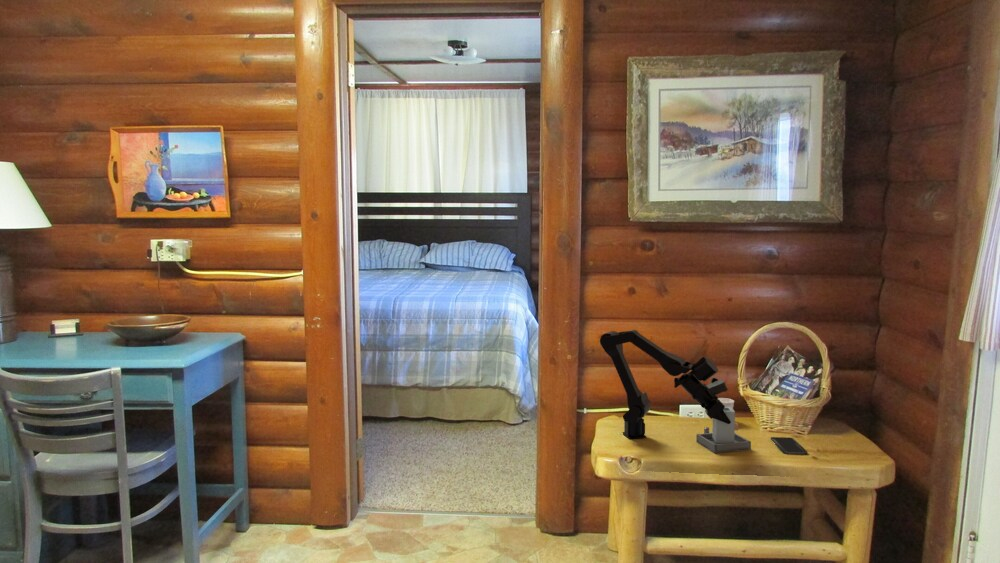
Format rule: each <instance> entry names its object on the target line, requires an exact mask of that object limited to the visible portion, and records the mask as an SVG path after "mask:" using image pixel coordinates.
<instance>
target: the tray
mask: <svg viewBox="0 0 1000 563" xmlns="http://www.w3.org/2000/svg"><path fill="white" fill-rule="evenodd" d="M695 441H696V443H697V444H699V445H700V446H702V447H704V448H705V449H707V450H709V451H710V452H712V453H713V454H722V453H732V452H743V451H750V450H752V448H751V447H752V441H750V440H749V439H747V438H745V437H743V436H741V435H739V434H737V433H735V434H734V442H733V443H716V442H715V441H714V439H713V437H712V432H709V433H705V434H704V433H696V440H695Z"/></svg>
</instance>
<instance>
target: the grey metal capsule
mask: <svg viewBox="0 0 1000 563" xmlns="http://www.w3.org/2000/svg"><path fill="white" fill-rule="evenodd" d="M705 433H710V427H708V426H705V427H703V434H705Z"/></svg>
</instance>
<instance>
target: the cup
mask: <svg viewBox="0 0 1000 563" xmlns="http://www.w3.org/2000/svg"><path fill="white" fill-rule="evenodd" d="M718 400H720V401H721V402H722V403H723V404H724V406H725V407H731V408H732V409H733V410H734V406H735V400H733V399H731V398H726V397H718Z"/></svg>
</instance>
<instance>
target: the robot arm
mask: <svg viewBox="0 0 1000 563" xmlns="http://www.w3.org/2000/svg"><path fill="white" fill-rule="evenodd" d="M599 343H600V344H599V345H600V346H601V348H602V349H603V351H604V353H606V354H607V355H608V356H609V357H610V359H611V361H612V362H613V363H612V364H613V366H614V367H615V370H616V372H617V375H618V376H619V380H620V382H621V384H622V386H623V389H624V391H625V393H626V394H625V395H626V402H627V403H626V404H627V407H628V411H626V412H625V413H624V414H623V415H622V418H623V421H624V423H623V424H624V431H622V432H621V433H623V434H622V435H624V436H625V437H626V436H627V437H626V438H628V439H630V440H633V439H634V440H636V439H643V438H644V439H645V438H646V437H647V436H646V435H645V434H646V422H645V418H644V417H645V416H646V415H647V414H648V412H650V410H651V404H650V403H652V402H651V400H650V399H649V397H648V393H647V392H646V391H645V392H642V391H641V390H640V389H639V387H638V385H637V383H636V380H635V378H634V375H633V373H632V371H631V368H630V366H629V364H628V362H627V360H626V357H625V355H624V344H626V343H631V344H632V345H634V347H635V346H636V347H637V348H638V349H640V350H641V351H642V352H644V353H645V354H646V355H649V357H651V358H652V359H653V360H655V361H656V362H657V363H659V365H660V366H661V368H662V369H663V370H664V371H665V372H666V373H667V374H668V375H670V376H672V377H674V379H673V384H674V385H673V386H674V387H673V388H674V389H677V388H678V387H679V386H681V387H682V388H683V389H684V390H685V391H686V392H687V393H688V394H689V395H690V396H691V398H692V399H693V400H695V401H696V402H697V403H698V404H699V405H700V407H701V408H702V409H704V413H705V414H706V416H708V418H710V419H711V420H713V418H714V419H717V420H719V421H722V422H724V423H727V424H730V423H731V421H730V420H729V418H728V417H727V415H726V414H725V412H724V411H723V409H724V407H725V406H724V404H723V403H722V402H721V401H720V400H718V398H719V397H718V395H719V394H721V393H726V392H728V390H729V389H728V387H727V385H726V382H725V381H724V379H722V378H719V379H718V378H716V377H715V376H714V375H715V374H717V373H718V372H719V368H718V366H717V365H716V364H715V363H714V362H713V361H712V360H711V359H709V358H707V357H706V355H704V356H702V357H701V358H699V360H698V361H697V362H696V363H693V362H689V361H688V360H685V358H683V357H682V356H679V355H678V354H676V353H675V354H674V353H671V352H668V351H666V350H664V349H663V348H662V347H660V346H658V345H657V344H655V343H654V342H653V341H652V340H650V339H649V338H648V337H645V336H644V335H642V334H641V333H640V332H639V331H638V330H636V329H631V330H627V331H620V332H618V331H615V330H611V331H608V332H605V333H604V334H602V335H601V336H600V339H599ZM681 374H682V375H681ZM678 376H679V377H678ZM709 379H710V382H709V383H708V384H707V385H706V384H705V383H704V382H706V381H707V380H709Z"/></svg>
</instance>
